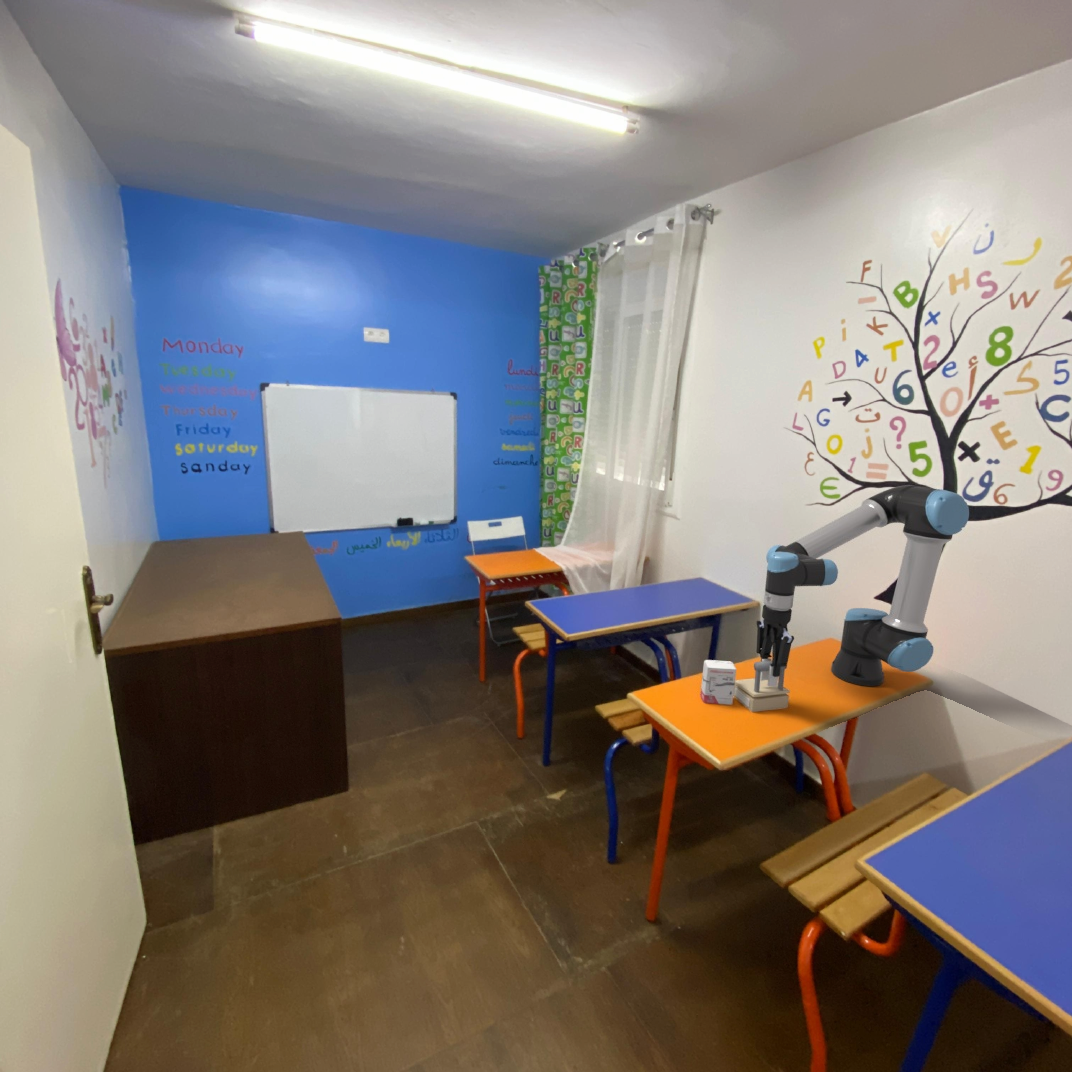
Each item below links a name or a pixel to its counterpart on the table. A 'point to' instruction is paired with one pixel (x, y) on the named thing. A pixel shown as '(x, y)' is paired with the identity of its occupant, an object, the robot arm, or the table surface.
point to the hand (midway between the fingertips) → (768, 682)
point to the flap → (762, 682)
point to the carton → (761, 700)
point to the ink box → (718, 682)
